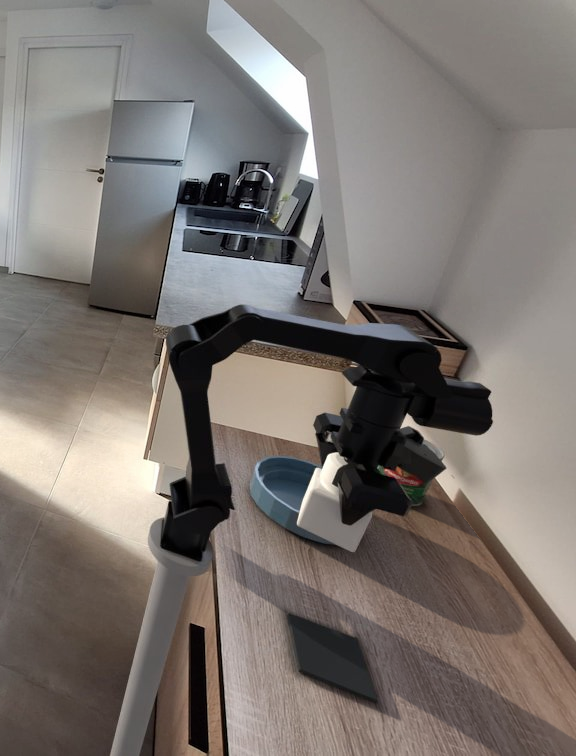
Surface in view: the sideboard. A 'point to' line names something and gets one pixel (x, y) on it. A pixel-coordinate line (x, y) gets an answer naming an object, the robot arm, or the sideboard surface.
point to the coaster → (330, 657)
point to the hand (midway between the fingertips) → (337, 503)
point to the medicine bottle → (330, 506)
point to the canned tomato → (413, 478)
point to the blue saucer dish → (283, 490)
